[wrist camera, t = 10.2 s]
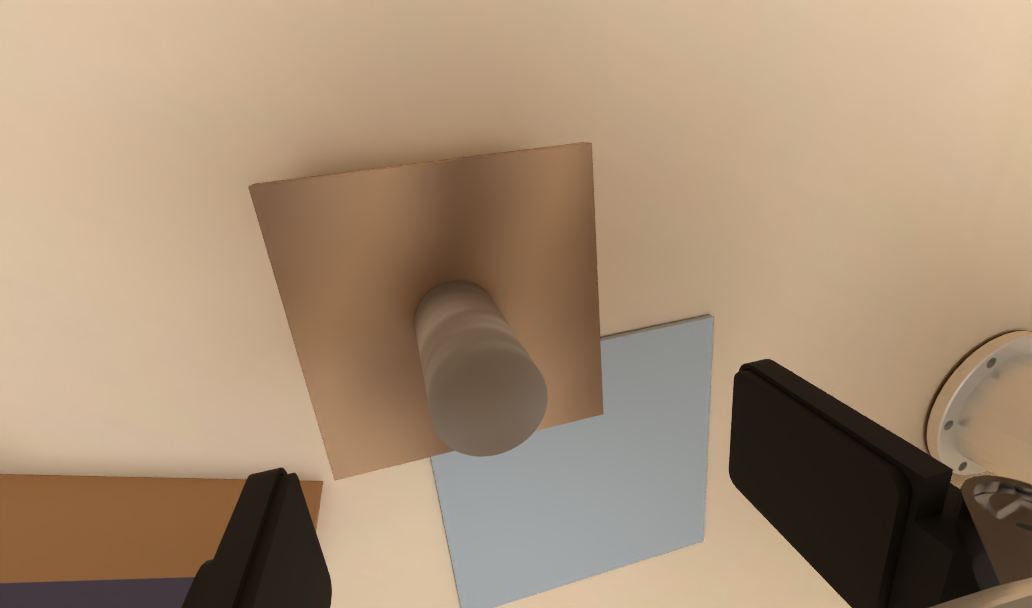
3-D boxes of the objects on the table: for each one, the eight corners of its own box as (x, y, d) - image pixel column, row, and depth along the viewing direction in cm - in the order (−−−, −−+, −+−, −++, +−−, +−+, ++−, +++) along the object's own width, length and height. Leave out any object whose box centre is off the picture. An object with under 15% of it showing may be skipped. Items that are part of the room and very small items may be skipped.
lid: (583, 142, 18) (692, 151, 11) (596, 404, 22) (682, 515, 15) (254, 183, 15) (171, 222, 9) (336, 466, 19) (316, 626, 13)
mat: (709, 314, 30) (714, 316, 30) (700, 537, 37) (703, 541, 36) (414, 377, 27) (415, 380, 26) (462, 611, 33) (463, 617, 33)
